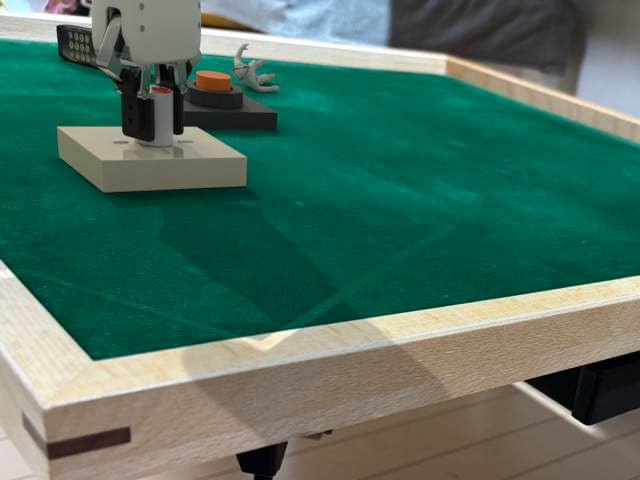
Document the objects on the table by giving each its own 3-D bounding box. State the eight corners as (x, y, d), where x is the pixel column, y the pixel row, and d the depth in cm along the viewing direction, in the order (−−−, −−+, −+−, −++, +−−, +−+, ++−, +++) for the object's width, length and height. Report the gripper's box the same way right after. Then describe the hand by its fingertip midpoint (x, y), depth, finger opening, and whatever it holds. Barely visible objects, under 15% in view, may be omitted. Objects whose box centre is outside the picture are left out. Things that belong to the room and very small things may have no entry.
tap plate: (103, 192, 80) (101, 158, 78) (58, 157, 86) (56, 124, 85) (246, 186, 89) (247, 155, 88) (196, 154, 96) (197, 125, 94)
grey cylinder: (125, 139, 85) (123, 83, 83) (149, 134, 88) (148, 79, 86) (157, 148, 84) (157, 92, 82) (181, 143, 88) (181, 88, 85)
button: (205, 93, 106) (205, 78, 105) (190, 84, 108) (190, 70, 107) (236, 94, 108) (237, 79, 108) (221, 85, 111) (221, 71, 110)
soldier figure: (288, 93, 136) (279, 80, 124) (263, 111, 136) (252, 100, 124) (255, 48, 134) (243, 32, 122) (229, 67, 134) (215, 52, 122)
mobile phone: (51, 21, 120) (146, 43, 117) (67, 21, 122) (161, 42, 120) (54, 60, 122) (148, 82, 120) (70, 58, 125) (162, 80, 122)
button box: (184, 130, 103) (184, 95, 101) (148, 107, 109) (147, 74, 107) (277, 130, 111) (278, 97, 109) (238, 109, 117) (239, 78, 115)
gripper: (172, -77, 85) (173, 115, 94) (41, -90, 71) (57, 138, 79) (240, -61, 84) (235, 132, 93) (122, -71, 70) (129, 158, 78)
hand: (153, 133), depth 86 cm, fingers closed on grey cylinder, 3 cm apart
